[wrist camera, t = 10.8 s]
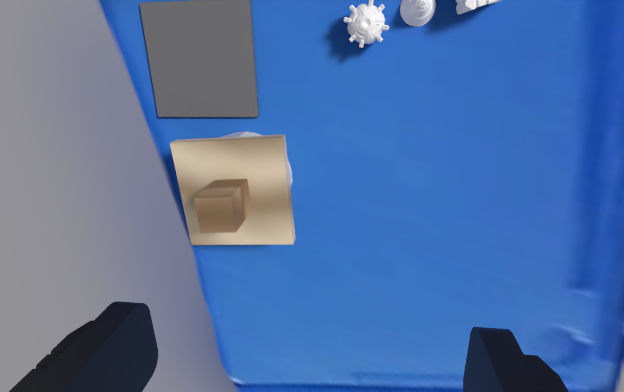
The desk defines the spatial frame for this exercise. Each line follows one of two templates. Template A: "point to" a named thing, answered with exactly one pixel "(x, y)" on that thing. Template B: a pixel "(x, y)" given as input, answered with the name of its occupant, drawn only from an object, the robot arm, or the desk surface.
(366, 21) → the game pieces
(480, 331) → the robot arm
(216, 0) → the mat
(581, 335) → the desk surface
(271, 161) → the lid
